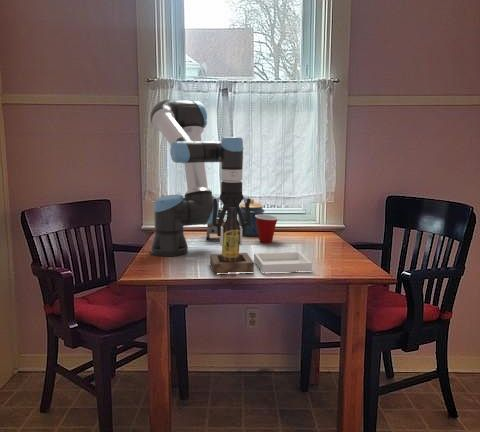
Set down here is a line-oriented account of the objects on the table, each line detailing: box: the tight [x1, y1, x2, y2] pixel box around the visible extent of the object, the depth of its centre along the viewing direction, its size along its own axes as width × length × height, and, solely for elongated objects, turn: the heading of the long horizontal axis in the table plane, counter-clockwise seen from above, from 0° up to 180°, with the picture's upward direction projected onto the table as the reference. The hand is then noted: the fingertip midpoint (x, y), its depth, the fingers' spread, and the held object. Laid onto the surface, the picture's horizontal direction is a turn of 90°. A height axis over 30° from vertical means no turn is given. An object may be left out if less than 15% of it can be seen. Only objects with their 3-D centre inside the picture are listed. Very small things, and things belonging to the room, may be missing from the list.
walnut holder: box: [209, 252, 255, 275], centre depth 167 cm, size 14×14×4 cm
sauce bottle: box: [221, 207, 240, 262], centre depth 165 cm, size 7×6×20 cm
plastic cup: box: [255, 214, 279, 244], centre depth 208 cm, size 11×11×12 cm
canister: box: [237, 198, 265, 237], centre depth 224 cm, size 13×13×18 cm
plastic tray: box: [253, 251, 313, 273], centre depth 170 cm, size 18×16×4 cm
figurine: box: [205, 207, 226, 241], centre depth 213 cm, size 9×12×15 cm
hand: (230, 244), depth 166 cm, fingers closed on sauce bottle, 6 cm apart
